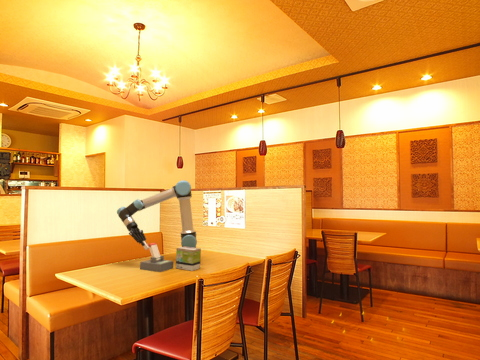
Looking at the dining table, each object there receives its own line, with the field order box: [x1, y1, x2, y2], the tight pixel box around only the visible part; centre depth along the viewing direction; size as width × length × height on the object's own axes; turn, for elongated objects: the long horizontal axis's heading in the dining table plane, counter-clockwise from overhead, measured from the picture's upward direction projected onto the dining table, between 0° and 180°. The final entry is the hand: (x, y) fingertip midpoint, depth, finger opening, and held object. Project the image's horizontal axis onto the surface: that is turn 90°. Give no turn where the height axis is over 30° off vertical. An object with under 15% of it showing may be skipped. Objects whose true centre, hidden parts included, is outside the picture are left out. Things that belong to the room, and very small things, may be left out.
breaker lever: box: [147, 242, 162, 261], centre depth 218 cm, size 3×6×13 cm, turn 157°
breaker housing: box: [139, 255, 174, 273], centre depth 217 cm, size 18×14×8 cm
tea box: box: [175, 246, 202, 272], centre depth 219 cm, size 15×10×15 cm, turn 62°
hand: (147, 248), depth 221 cm, fingers closed
